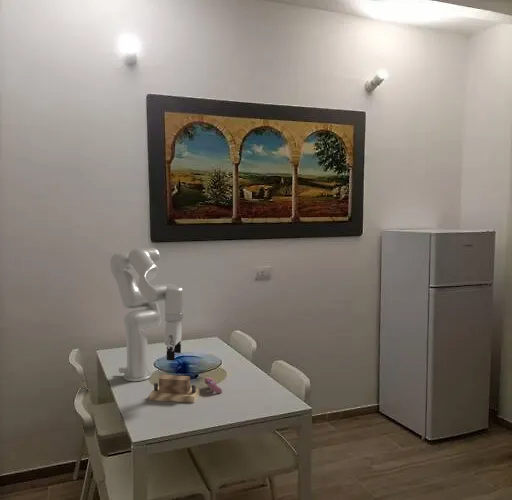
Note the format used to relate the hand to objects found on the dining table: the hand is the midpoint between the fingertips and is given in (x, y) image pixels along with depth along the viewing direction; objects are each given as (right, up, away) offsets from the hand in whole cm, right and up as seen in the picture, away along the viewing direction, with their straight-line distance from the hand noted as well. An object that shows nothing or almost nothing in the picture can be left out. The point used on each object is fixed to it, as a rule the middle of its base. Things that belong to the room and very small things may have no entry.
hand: (173, 356), depth 201 cm
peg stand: (0, -17, +1) cm, 17 cm away
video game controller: (+15, -17, +9) cm, 25 cm away
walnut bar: (0, -15, +1) cm, 15 cm away
